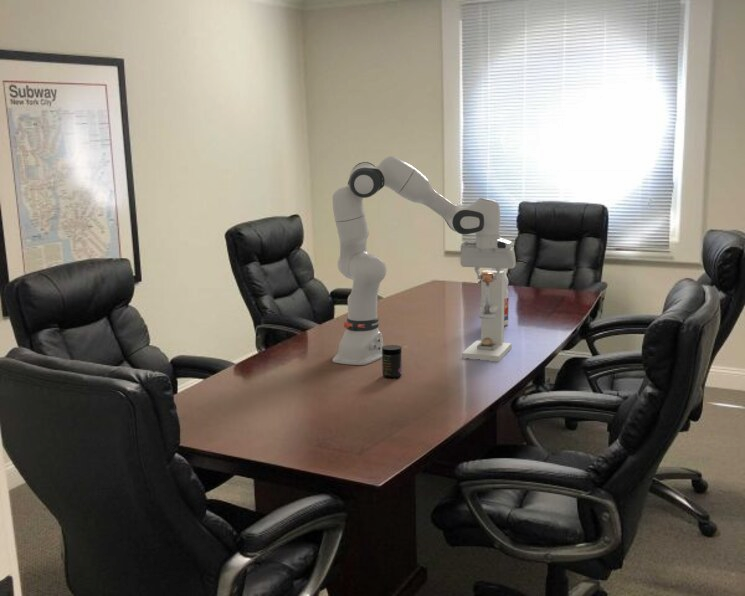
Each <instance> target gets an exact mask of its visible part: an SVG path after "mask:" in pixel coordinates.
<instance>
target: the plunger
mask: <svg viewBox="0 0 745 596" xmlns="http://www.w3.org/2000/svg"><path fill="white" fill-rule="evenodd" d="M493 275H494V273H492V272H484V273H482V282H485V312H479V314H478V316H479V319H481V318H482V319H493V318H495V317H496V313H494V312H489V308H490V282H493V281H494V280H493Z"/></svg>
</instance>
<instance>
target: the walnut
mask: <svg viewBox="0 0 745 596" xmlns="http://www.w3.org/2000/svg"><path fill="white" fill-rule="evenodd" d="M492 344H493V342H492V340H491V339H490V338H484V339H483V340H482V345H483V346H487V347H491V346H492Z"/></svg>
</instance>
